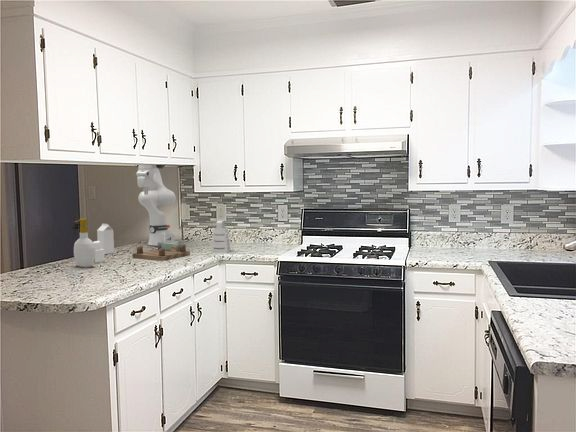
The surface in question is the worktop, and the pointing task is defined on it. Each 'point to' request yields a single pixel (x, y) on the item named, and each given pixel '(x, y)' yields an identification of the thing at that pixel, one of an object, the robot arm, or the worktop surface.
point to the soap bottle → (84, 247)
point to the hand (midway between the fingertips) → (146, 194)
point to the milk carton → (106, 238)
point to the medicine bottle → (98, 252)
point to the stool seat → (161, 253)
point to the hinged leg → (168, 245)
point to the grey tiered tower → (220, 238)
